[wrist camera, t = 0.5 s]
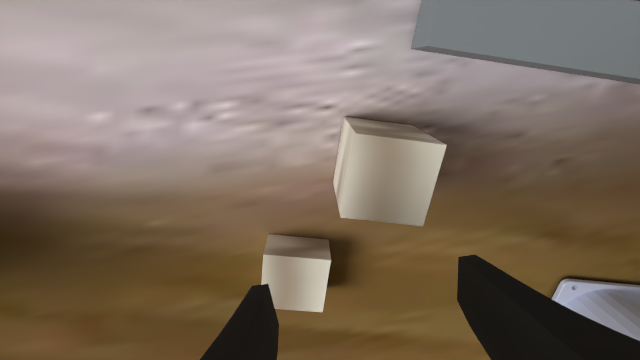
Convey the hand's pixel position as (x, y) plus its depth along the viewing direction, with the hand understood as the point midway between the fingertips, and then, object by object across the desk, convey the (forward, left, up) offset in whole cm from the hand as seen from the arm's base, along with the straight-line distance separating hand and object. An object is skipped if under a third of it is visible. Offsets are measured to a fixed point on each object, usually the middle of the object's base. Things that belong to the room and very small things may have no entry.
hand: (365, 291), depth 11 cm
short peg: (+2, +6, -10) cm, 12 cm away
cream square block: (-2, -3, -10) cm, 10 cm away
